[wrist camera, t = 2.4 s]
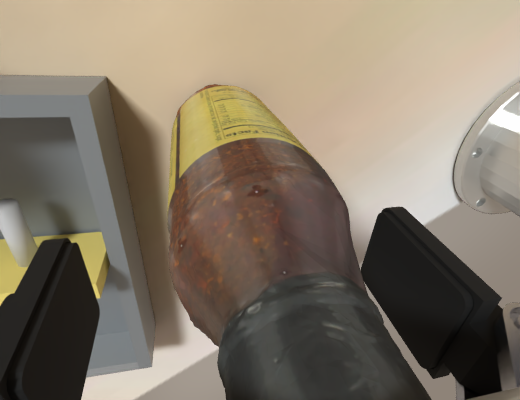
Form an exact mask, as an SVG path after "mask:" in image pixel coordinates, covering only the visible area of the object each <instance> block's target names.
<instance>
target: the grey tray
mask: <svg viewBox="0 0 520 400" xmlns="http://www.w3.org/2000/svg"><path fill="white" fill-rule="evenodd" d="M7 198H13V199H16V200H17V201H18V203H19V205H20V208H21V210H22V212H23V215H24V217H25V219H26V222H27V224H28V226H29V229H30V231H31V233H32V236H33V237H39V236H52V235H65V234H78V233H91V232H102V236H103V240H104V243H105V247H106V250H107V254H108V258H109V261H110V266H109V270H108V273H107V277H106V280H105V284H104V288H103V291H102V295H101V298H98V299H97V301H98V304H99V308H100V317H99V322H98V327H97V331H96V336H95V340H94V344H93V349H92V353H91V357H90V362H89V366H88V371H87V375H86V377H92V376H98V375H105V374H111V373H117V372H123V371H130V370H136V369H142V368H148V367H152V361H153V349H154V338H155V327H156V325H155V320H154V315H153V310H152V304H151V299H150V294H149V289H148V284H147V279H146V274H145V269H144V264H143V259H142V254H141V249H140V244H139V239H138V234H137V229H136V224H135V219H134V214H133V209H132V204H131V199H130V194H129V189H128V184H127V179H126V174H125V169H124V164H123V159H122V154H121V149H120V144H119V139H118V134H117V129H116V124H115V118H114V113H113V108H112V103H111V98H110V93H109V88H108V83H107V78H106V77H101V76H30V75H0V200H2V199H7ZM0 239H5V238H4V236H3V234H2V232H1V230H0Z"/></svg>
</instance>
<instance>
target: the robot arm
mask: <svg viewBox="0 0 520 400" xmlns="http://www.w3.org/2000/svg"><path fill="white" fill-rule="evenodd" d="M454 183H455V189H456V191H457V193H458V195H459V197H460V198H461V199H462V200H463V201H464V202H465V203H466V204H467V205H469V206H470V207H471V208H473V209H474V210H477V211H479V212H482V213H488V214H499V213H506V212H510V211H512V212H514V213H515V214H517V215H518V216H520V82H518V83H516V84H515V85H514V86H512V87H511V88H510V89H508V90H507V91H506V92H504V93H503V94H502V95H501V96H499V97H498V98H497V99H496V100H495V101H494V102H493V103H492V104H491V105H490V106H489V107H488V108H487V109H486V110H485V111H484V113H483V114H482V115H481V116H480V118H479V119H478V120H477V121H476V122H475V124H474V125H473V127H472V128H471V130H470V132H469V133H468V135H467V136H466V138H465V140H464V142H463V144H462V146H461V149H460V151H459V154H458V157H457V160H456V164H455V171H454ZM361 274H362V277H363V281H364V282H365V284H366V285H367V287H368V288H369V290H370V291H371V293H372V294H373V296H374V297H375V299H376V300H377V302H378V303H379V305H380V306H381V308H382V309H383V311H384V312H385V314H386V315H387V317H388V318H389V320H390V321H391V323H392V324H393V326H394V327H395V329H396V330H397V332H398V333H399V335H400V336H401V338H402V339H403V341H404V342H405V344H406V345H407V347H408V348H409V350H410V351H411V353H412V354H413V356H414V357H415V359H416V360H417V361H418V363H419V364H420V366H421V367H423V368H425V369H427V371H428V372H429V374H430V375H431V377H432V378H433V379H435V378H438V377H443V376H447V375H449V373H450V372H451V373H452V374H453V376H454V377H455V379H456V400H520V303H509V304H506V305H505V307H504V308H503V309H502V308H501V307H500V306H498V303H499V301H500V300H501V299H502V298H501V297H500V296H499V295H498V294H497V293H496V292H495V291H494V290H493V289H492V288H491V287H489V286H488V285H487V284H486V283H485V282H484V281H483V280H482V279H481V278H480V277H479V276H477V275H476V274H475V273H474V272H473V271H472V270H471V269H470V268H469V267H468V266H467V265H465V264H464V263H463V262H462V261H461V260H460V259H459V258H458V257H457V256H456V255H455V254H454V253H452V252H451V251H450V250H449V249H448V248H447V247H446V246H445V245H444V244H443V243H442V242H440V241H439V240H438V239H437V238H436V237H435V236H434V235H433V234H432V233H431V232H430V231H429V230H427V229H426V228H425V227H424V226H423V225H422V224H421V223H420V222H419V221H418V220H417V219H416V218H414V217H413V216H412V215H411V214H410V213H409V212H408V211H407V210H406V209H405V208H403V207H391V208H385V209H383V210H382V212H381V213H379V214H378V216H377V219H376V223H375V226H374V229H373V232H372V235H371V239H370V242H369V245H368V248H367V251H366V254H365V258H364V261H363V264H362V267H361ZM99 317H100V308H99V304H98V301H97V298H96V295H95V292H94V289H93V286H92V283H91V280H90V277H89V274H88V271H87V268H86V265H85V262H84V260H83V257H82V254H81V251H80V248H79V245H78V244H77V243H76V242H75V243H71V241H70V240H69V239H68V238H62V239H51V240H44V241H42V243H41V244H40V246H39V248H38V250H37V252H36V253H35V255H34V257H33V259H32V261H31V263H30V265H29V267H28V268H27V270H26V272H25V274H24V276H23V278H22V280H21V282H20V283H19V285H18V287H17V289H16V291H15V293H12V294H10V295H8V296H7V297H6V298H5V299H4V301H3V302H2V304H1V306H0V400H81V397H82V392H83V388H84V384H85V379H86V375H87V371H88V366H89V362H90V357H91V353H92V349H93V344H94V340H95V336H96V331H97V327H98V322H99Z"/></svg>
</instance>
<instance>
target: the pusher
mask: <svg viewBox="0 0 520 400" xmlns="http://www.w3.org/2000/svg"><path fill="white" fill-rule="evenodd" d="M0 230H1V232H2V234H3V236H4V238H5V239H0V306H1V304H2V302H3V301H4V299H5V298H6V297H7V296H8V295H10V294H12V293H15V291H16V289H17V287H18V285H19V283H20V282H21V280H22V278H23V276H24V274H25V272H26V270H27V268H28V267H29V265H30V263H31V261H32V259H33V257H34V255H35V253H36V252H37V250H38V248H39V246H40V244H41V243H42V241H44V240H51V239H62V238H68V239H69V240H70V241H71V243H75V242H76V243H77V244H78V245H79V248H80V251H81V254H82V257H83V260H84V262H85V265H86V268H87V271H88V274H89V277H90V280H91V283H92V286H93V289H94V292H95V295H96V298H97V299H98V298H101V295H102V291H103V288H104V284H105V280H106V277H107V273H108V270H109V266H110V261H109V258H108V254H107V250H106V247H105V243H104V240H103V236H102V232H91V233H78V234H65V235H52V236H39V237H33V236H32V233H31V231H30V229H29V226H28V224H27V222H26V219H25V217H24V215H23V212H22V210H21V208H20V205H19V203H18V201H17V200H16V199H13V198H7V199H2V200H0Z"/></svg>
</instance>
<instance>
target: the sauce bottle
mask: <svg viewBox="0 0 520 400" xmlns="http://www.w3.org/2000/svg"><path fill="white" fill-rule="evenodd" d="M167 218H168V230H169V233H170V246H169V268H170V273H171V277H172V281H173V285H174V288H175V290H176V292H177V294H178V296H179V298H180V300H181V302H182V304H183V306H184V308H185V309H186V311H187V312H188V314H189V317H190V320H191V321H192V322H193V324H194V326H195V327H197V328H199V329H200V330H201V332H203V333H204V334H206V336H207V337H208V338H210V339H211V340H212V342H213V343H214V344H215V345H217V346H219V354H218V362H217V363H218V370H219V374H220V377H221V379H222V382H223V386H224V388H225V393H226V400H431V398H430V396H429V395H428V394H427V392H426V390H425V388H424V387H423V386H422V384H421V383H420V381H419V380H418V378H417V377H416V375H415V374H414V372H413V371H412V369H411V368H410V366H409V364H408V363H407V361H406V360H405V359H404V357H403V356H402V354H401V352H400V349H399V348H398V347H397V345H396V344H395V342H394V341H393V339H392V338H391V336H390V334H389V332H388V330H387V329H386V328H385V326H384V325H383V323H384V322H383V318H382V315H381V314H380V312H379V310H378V307H377V306H376V305H375V304H374V302H373V301H372V300H371V299H370V298H369V296H368V294H367V291H366V287H365V284H364V281H363V277H362V274H361V271H360V268H359V264H358V261H357V257H356V254H355V251H354V247H353V243H352V238H351V232H350V221H349V213H348V209H347V206H346V203H345V201H344V200H343V198H342V196H341V195H340V193H339V191H338V190H337V188H336V186H335V185H334V183H333V182H332V180H331V179H330V177H329V176H328V174H327V173H326V172H325V170H324V169H323V168H322V167H321V166H320V164H319V163H318V162H317V161H316V160H315V159H314V158H313V157H312V155H311V154H310V153H309V152H308V151H307V150H306V149H305V148H304V146H303V145H302V144H301V143H300V142H299V141H298V140H297V139H296V137H295V136H294V135H293V134H292V133H291V132H290V131H289V130H288V129H287V128H286V127H285V125H284V124H283V123H282V122H281V121H280V120H279V119H278V118H277V117H276V116H275V115H274V114H273V113H272V112H271V111H270V110H269V109H268V108H267V107H266V106H265V105H264V104H263V103H262V101H261V100H260V99H258V98H257V97H256V96H255V95H253V94H252V93H250V92H248V91H247V90H244V89H242V88H239V87H236V86H228V85H216V84H215V85H208V86H205V87H204V88H203V89H201V90H199V91H197V92H196V93H194V94H193V95H192V96H191V97H190V98H189V99H188V100H186V102H185V103H184V104H183V105H182V106H181V107H180V108H179V110H178V112H177V116H176V119H175V121H174V125H173V129H172V139H171V153H170V175H169V193H168V213H167Z"/></svg>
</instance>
